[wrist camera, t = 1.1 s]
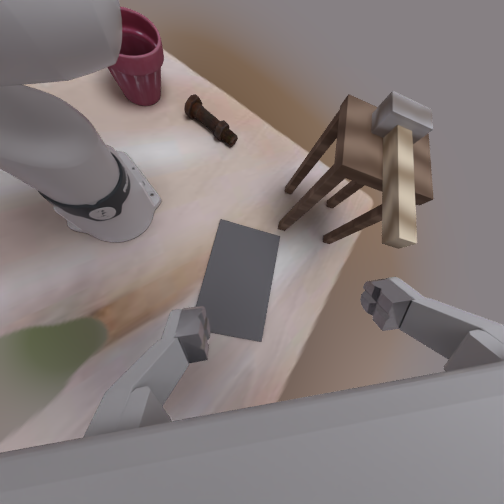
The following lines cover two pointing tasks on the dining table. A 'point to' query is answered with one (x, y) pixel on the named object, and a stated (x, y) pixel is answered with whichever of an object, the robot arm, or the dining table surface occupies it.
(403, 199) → the hammer
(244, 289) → the mat
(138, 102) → the plant pot
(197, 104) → the bolt
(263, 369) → the dining table surface
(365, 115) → the stool
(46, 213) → the dining table surface
